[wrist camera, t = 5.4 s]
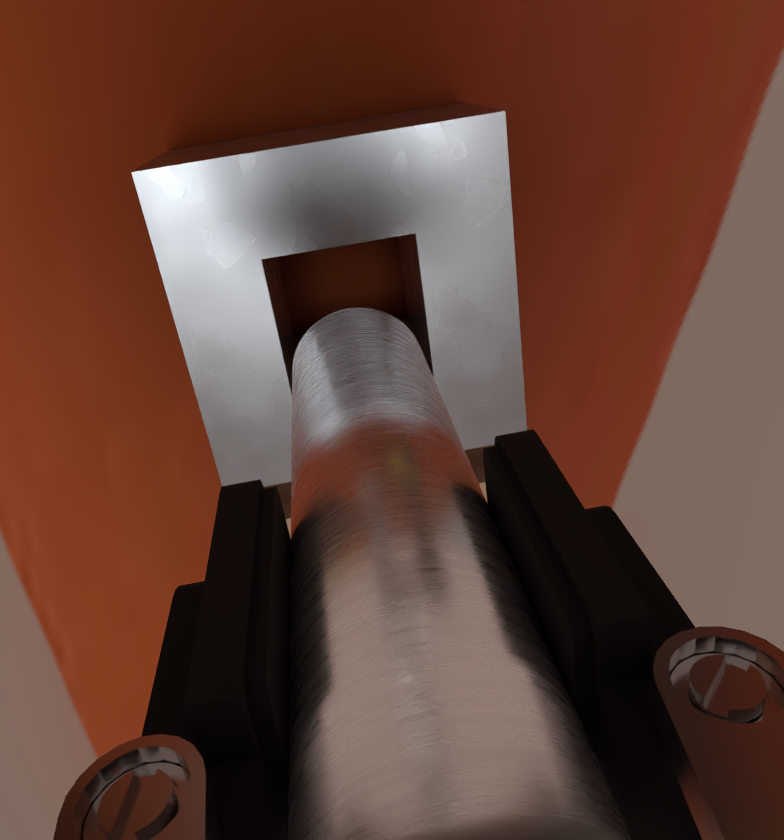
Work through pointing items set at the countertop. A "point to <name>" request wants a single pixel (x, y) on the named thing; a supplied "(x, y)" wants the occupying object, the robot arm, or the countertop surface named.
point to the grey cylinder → (414, 622)
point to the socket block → (331, 227)
